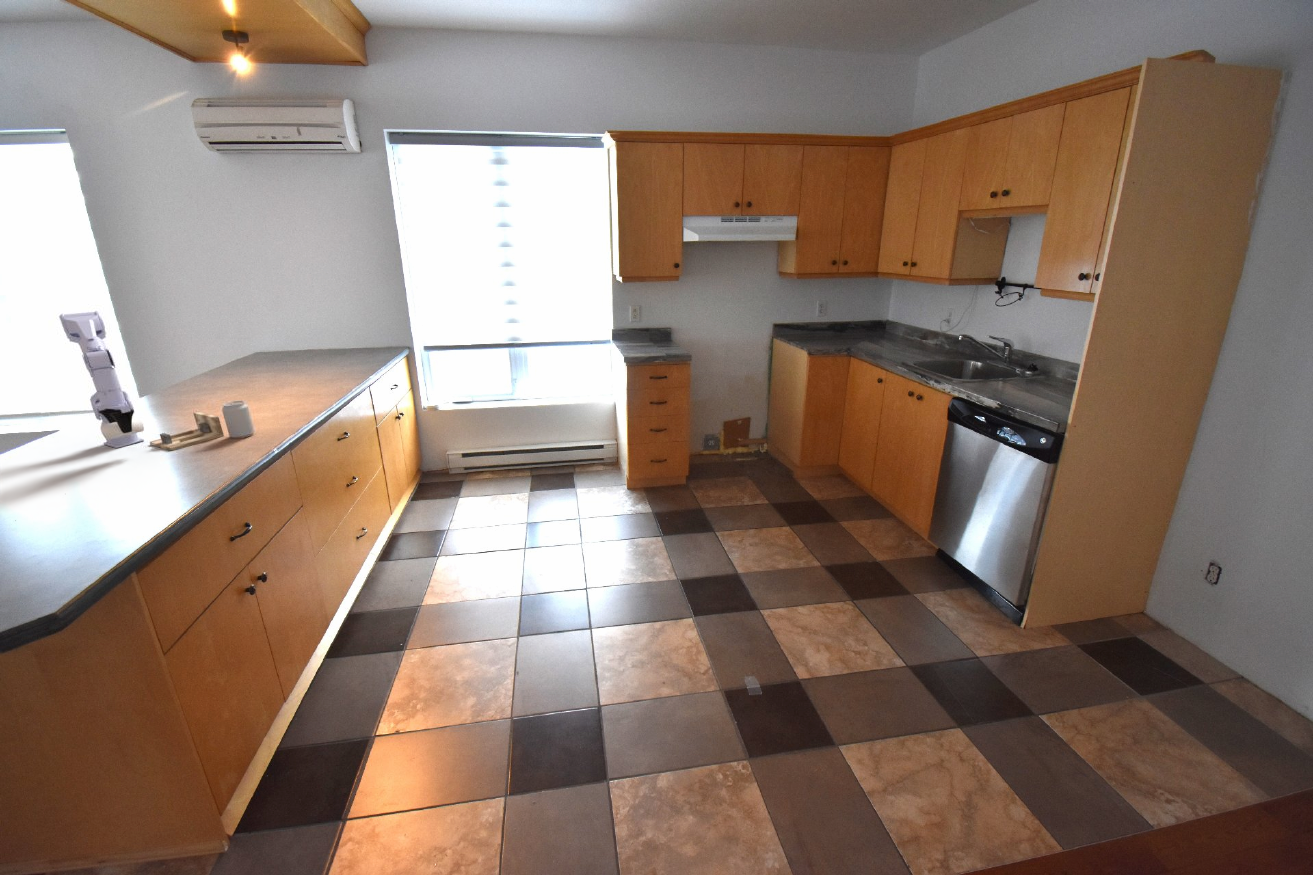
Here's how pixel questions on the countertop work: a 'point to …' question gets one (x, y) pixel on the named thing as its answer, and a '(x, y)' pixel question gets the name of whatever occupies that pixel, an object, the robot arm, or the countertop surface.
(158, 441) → the roll holder
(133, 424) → the cylinder
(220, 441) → the countertop surface
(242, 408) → the can
